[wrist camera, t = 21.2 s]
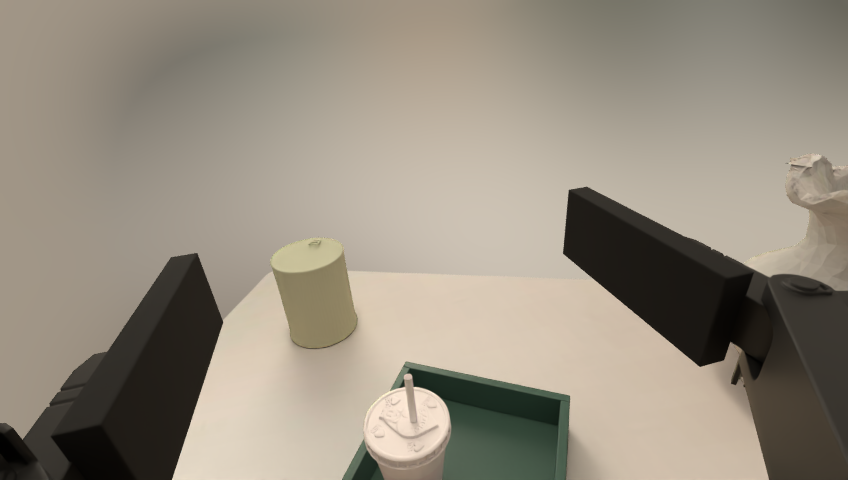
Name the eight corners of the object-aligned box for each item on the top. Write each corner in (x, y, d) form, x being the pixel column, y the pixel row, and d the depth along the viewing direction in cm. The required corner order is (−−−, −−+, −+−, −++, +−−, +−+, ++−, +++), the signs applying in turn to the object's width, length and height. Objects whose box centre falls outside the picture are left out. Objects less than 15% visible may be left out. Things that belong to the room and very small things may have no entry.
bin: (554, 642, 25) (559, 611, 24) (329, 550, 31) (319, 520, 29) (566, 425, 39) (570, 395, 37) (409, 388, 45) (405, 361, 43)
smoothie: (445, 554, 30) (432, 424, 23) (366, 530, 32) (335, 404, 25) (463, 472, 35) (457, 349, 29) (395, 456, 37) (375, 337, 31)
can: (363, 305, 60) (351, 233, 54) (348, 348, 51) (331, 268, 46) (304, 306, 61) (285, 235, 55) (279, 348, 52) (255, 270, 47)
